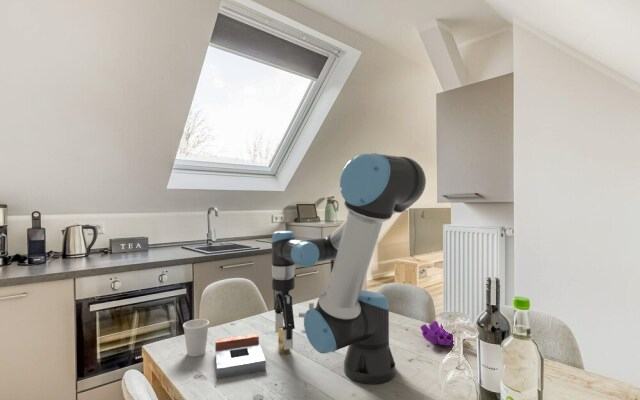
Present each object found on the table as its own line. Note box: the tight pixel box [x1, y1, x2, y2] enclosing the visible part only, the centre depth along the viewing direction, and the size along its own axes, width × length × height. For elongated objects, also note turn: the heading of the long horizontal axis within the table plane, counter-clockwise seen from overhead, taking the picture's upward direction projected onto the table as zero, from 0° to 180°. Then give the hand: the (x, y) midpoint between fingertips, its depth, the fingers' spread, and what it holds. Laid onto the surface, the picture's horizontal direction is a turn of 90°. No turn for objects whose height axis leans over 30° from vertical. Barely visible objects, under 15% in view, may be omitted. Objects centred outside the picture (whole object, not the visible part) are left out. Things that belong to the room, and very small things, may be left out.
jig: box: [214, 333, 267, 380], centre depth 105 cm, size 16×14×5 cm
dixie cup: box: [182, 318, 210, 357], centre depth 112 cm, size 8×8×10 cm
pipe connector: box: [298, 301, 315, 318], centre depth 133 cm, size 10×10×10 cm
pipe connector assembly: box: [419, 320, 466, 346], centre depth 117 cm, size 11×15×10 cm
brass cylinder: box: [277, 325, 291, 356], centre depth 112 cm, size 4×4×8 cm
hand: (283, 339), depth 112 cm, fingers open, 13 cm apart
